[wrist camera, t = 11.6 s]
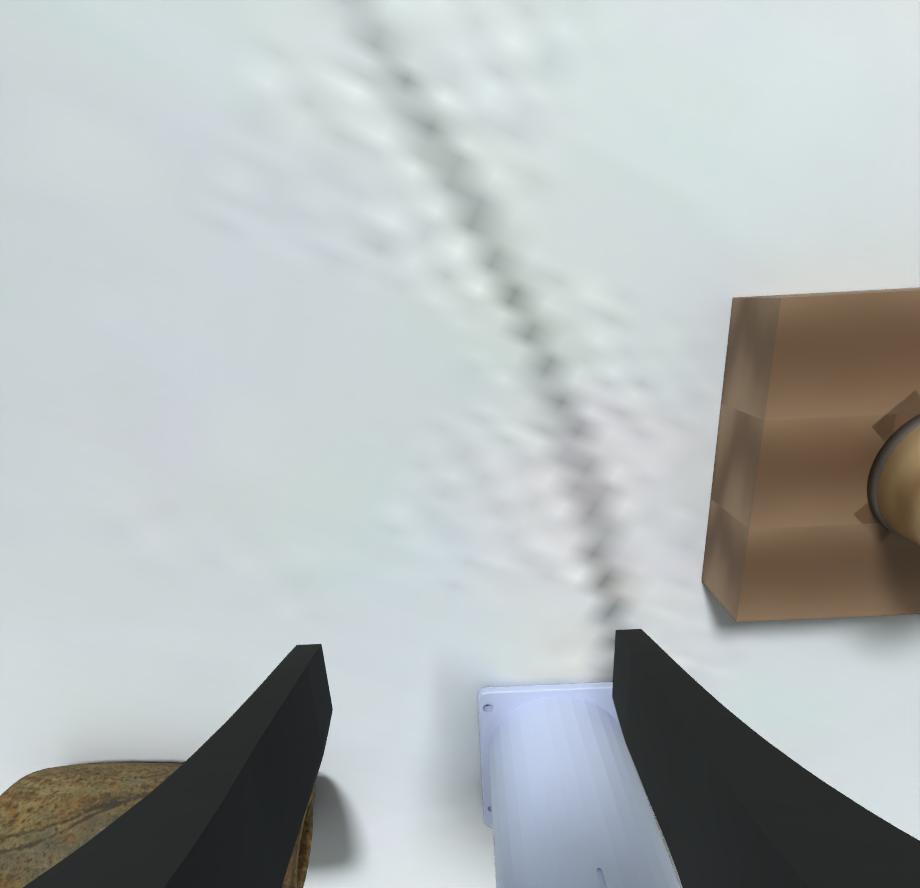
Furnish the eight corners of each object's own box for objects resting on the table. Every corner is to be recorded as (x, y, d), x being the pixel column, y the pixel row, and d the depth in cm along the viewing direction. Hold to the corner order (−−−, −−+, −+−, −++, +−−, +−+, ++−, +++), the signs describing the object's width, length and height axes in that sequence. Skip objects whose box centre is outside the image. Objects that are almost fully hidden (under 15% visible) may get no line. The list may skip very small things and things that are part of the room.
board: (998, 567, 23) (1076, 607, 20) (701, 581, 23) (736, 621, 20) (1090, 278, 19) (1203, 274, 16) (732, 297, 19) (781, 297, 16)
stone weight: (74, 826, 28) (-40, 983, 21) (42, 732, 26) (-95, 875, 19) (331, 823, 28) (293, 979, 21) (319, 729, 26) (274, 871, 19)
